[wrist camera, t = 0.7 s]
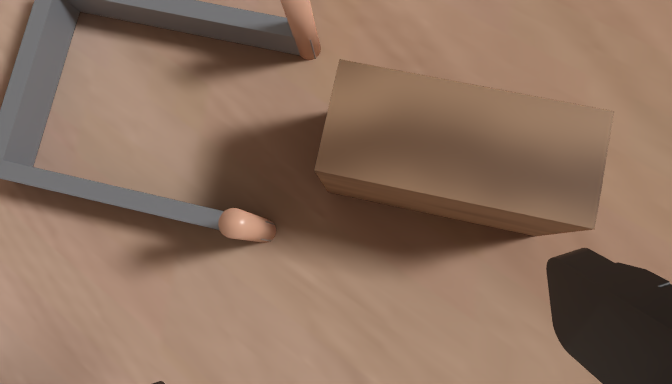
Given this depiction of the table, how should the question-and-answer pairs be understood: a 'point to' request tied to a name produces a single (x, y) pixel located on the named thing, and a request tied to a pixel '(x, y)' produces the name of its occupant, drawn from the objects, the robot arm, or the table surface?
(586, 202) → the walnut block
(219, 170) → the table surface
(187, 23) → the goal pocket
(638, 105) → the table surface
